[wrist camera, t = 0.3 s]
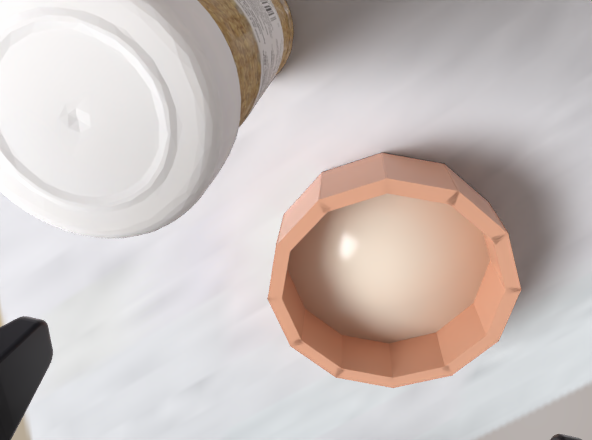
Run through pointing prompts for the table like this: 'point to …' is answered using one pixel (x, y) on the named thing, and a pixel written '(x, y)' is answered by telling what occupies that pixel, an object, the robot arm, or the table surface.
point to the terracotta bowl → (392, 272)
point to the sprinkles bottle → (128, 104)
